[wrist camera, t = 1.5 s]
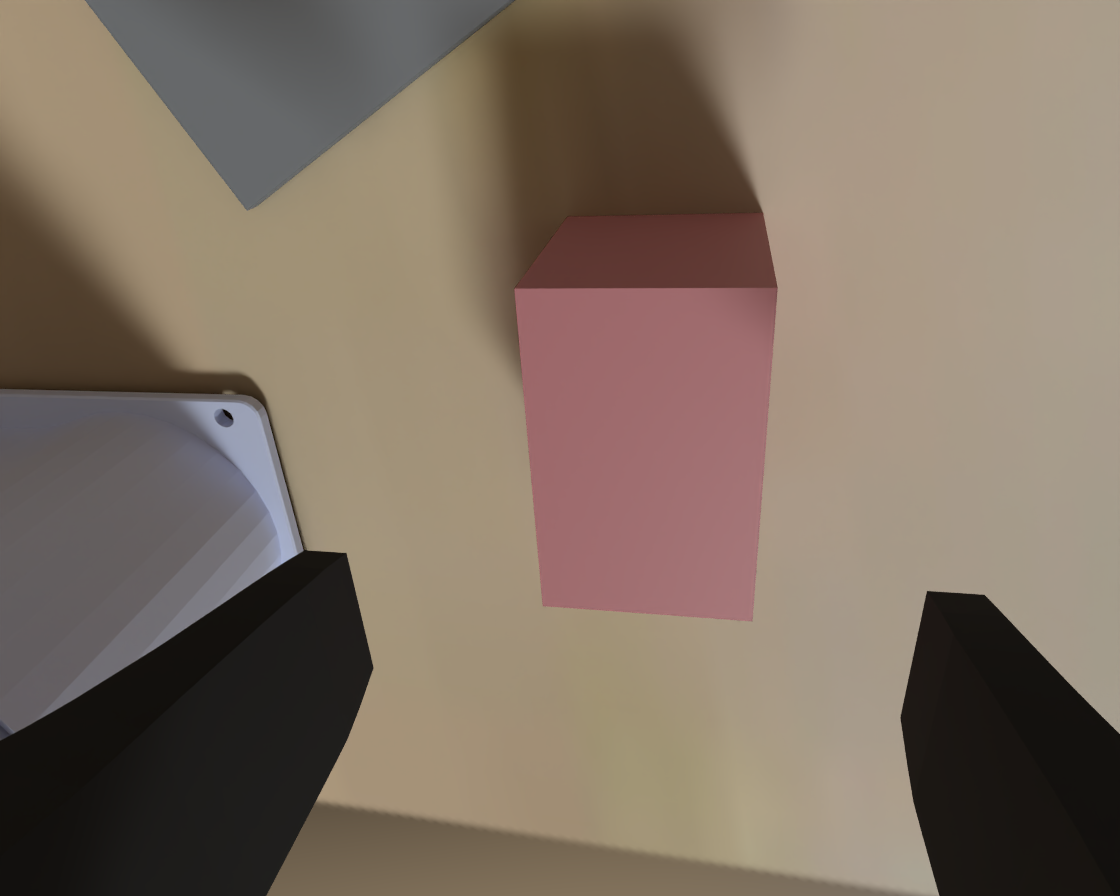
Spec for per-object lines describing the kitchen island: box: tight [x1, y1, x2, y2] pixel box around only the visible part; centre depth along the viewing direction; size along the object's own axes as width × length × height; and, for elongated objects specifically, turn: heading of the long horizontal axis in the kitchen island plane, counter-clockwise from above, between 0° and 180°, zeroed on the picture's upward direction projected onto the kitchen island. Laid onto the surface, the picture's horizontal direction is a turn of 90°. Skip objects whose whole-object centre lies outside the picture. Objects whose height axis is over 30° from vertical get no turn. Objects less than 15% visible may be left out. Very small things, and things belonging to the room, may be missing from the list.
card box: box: [514, 213, 778, 621], centre depth 16 cm, size 4×6×5 cm, turn 3°
